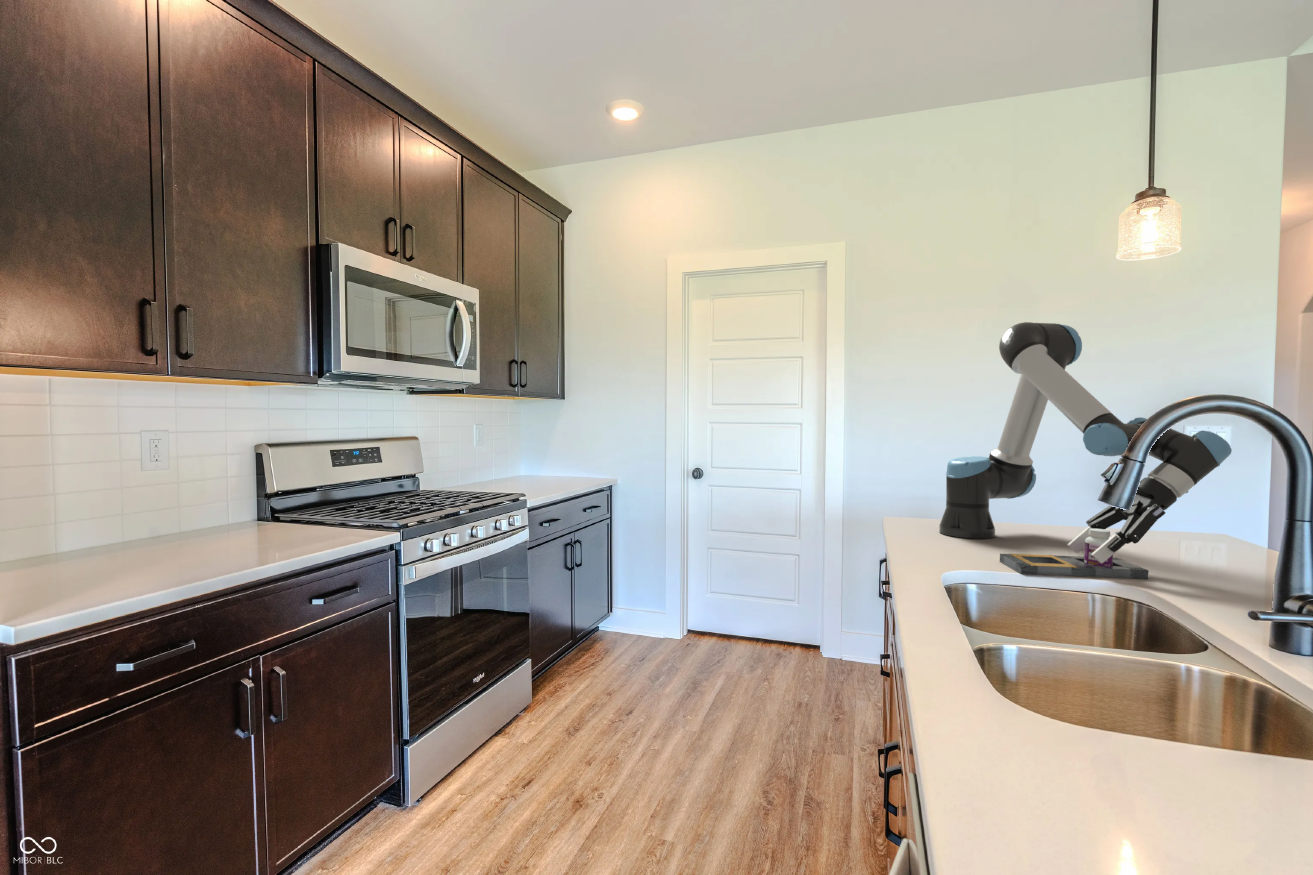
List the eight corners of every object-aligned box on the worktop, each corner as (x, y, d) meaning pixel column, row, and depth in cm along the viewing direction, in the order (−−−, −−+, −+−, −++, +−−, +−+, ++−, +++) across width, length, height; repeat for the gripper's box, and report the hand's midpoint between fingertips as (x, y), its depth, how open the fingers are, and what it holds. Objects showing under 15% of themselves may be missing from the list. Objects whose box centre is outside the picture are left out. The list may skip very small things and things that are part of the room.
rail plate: (999, 561, 150) (999, 553, 150) (1116, 565, 146) (1116, 557, 146) (1020, 573, 138) (1021, 564, 138) (1148, 579, 134) (1148, 569, 134)
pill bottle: (1087, 572, 140) (1088, 530, 139) (1081, 567, 145) (1082, 527, 144) (1115, 574, 138) (1117, 532, 137) (1108, 569, 143) (1109, 528, 142)
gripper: (1211, 506, 127) (1125, 577, 130) (1143, 493, 149) (1071, 554, 152) (1183, 480, 128) (1098, 552, 131) (1120, 471, 150) (1048, 532, 153)
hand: (1083, 553), depth 141 cm, fingers open, 10 cm apart
